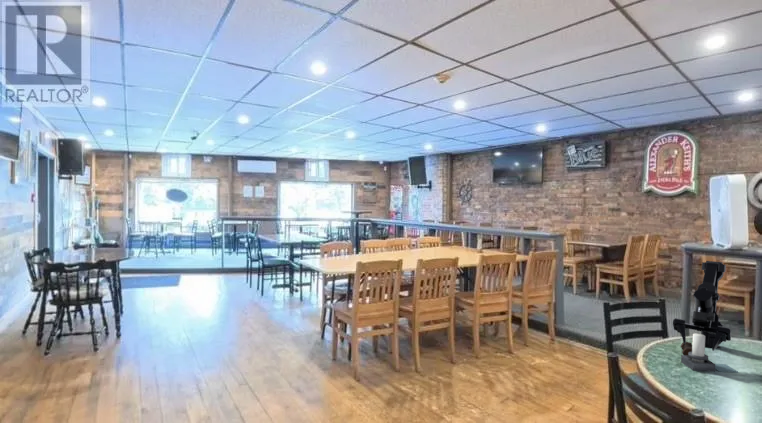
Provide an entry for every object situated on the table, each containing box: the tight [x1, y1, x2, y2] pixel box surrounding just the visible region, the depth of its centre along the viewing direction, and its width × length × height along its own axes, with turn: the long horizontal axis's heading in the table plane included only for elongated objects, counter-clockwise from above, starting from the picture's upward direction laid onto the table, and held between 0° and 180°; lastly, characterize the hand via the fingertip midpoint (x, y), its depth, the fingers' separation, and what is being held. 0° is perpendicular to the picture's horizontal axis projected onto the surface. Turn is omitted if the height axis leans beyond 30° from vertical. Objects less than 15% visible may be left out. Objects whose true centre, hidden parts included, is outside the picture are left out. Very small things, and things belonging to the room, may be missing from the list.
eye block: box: [680, 354, 716, 373], centre depth 167 cm, size 8×8×3 cm
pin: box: [688, 333, 709, 362], centre depth 167 cm, size 6×6×13 cm
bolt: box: [680, 341, 692, 355], centre depth 181 cm, size 6×5×15 cm
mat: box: [714, 363, 739, 373], centre depth 166 cm, size 7×7×1 cm
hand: (698, 347), depth 167 cm, fingers open, 9 cm apart
